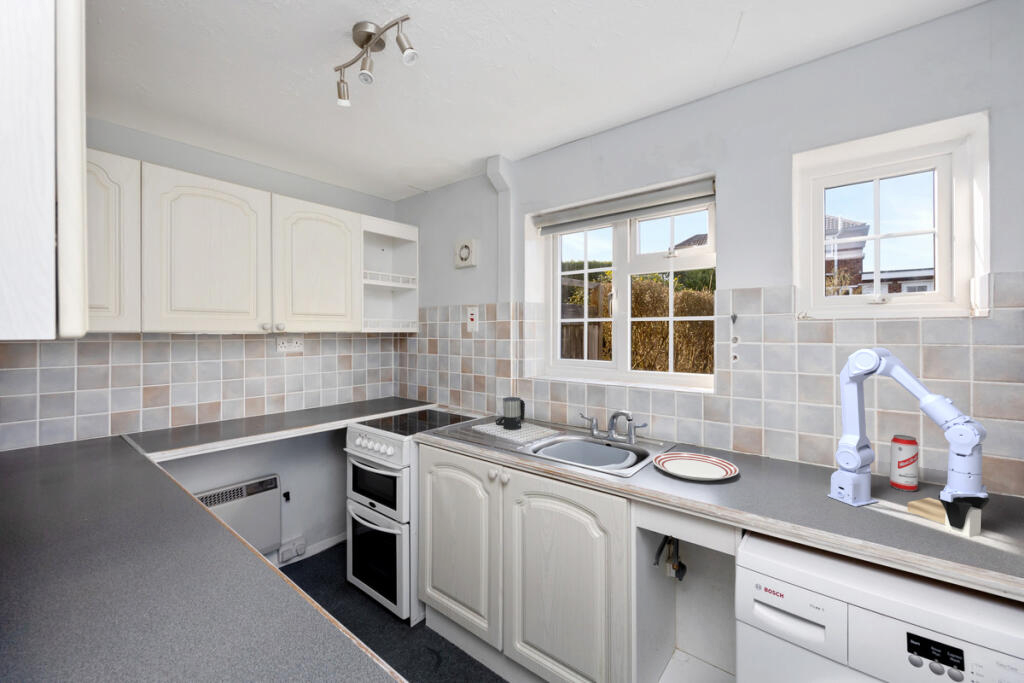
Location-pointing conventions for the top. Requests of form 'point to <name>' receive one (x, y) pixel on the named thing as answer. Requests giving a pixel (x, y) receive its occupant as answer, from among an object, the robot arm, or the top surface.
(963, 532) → the white block
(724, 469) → the dinner plate
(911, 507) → the oak block
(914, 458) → the beer can
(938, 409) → the robot arm
